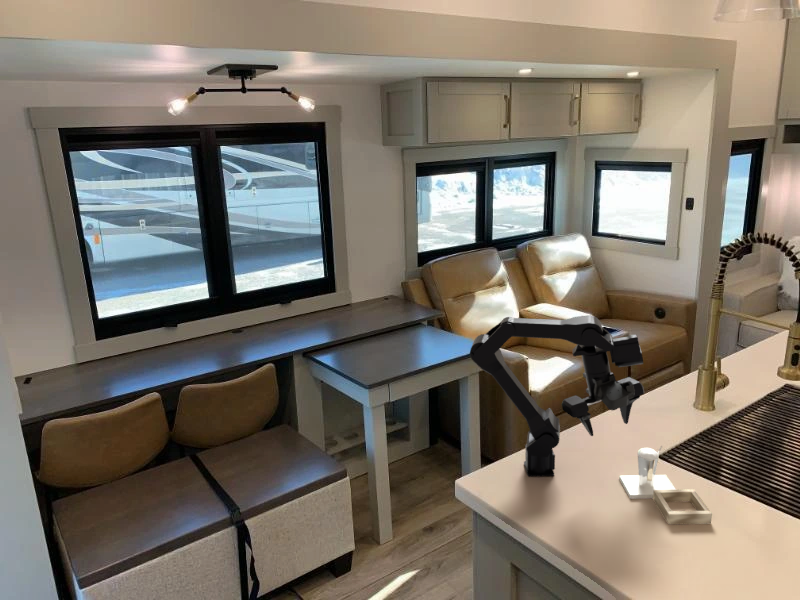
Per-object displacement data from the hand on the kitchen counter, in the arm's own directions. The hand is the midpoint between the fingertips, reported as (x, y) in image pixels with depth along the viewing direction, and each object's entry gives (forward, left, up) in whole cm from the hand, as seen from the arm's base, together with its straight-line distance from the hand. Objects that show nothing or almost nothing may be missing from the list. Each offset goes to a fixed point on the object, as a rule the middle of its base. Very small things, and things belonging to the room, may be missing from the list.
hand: (608, 429), depth 145 cm
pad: (+8, -5, -13) cm, 16 cm away
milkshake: (+8, -5, -12) cm, 15 cm away
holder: (+12, -14, -13) cm, 23 cm away
